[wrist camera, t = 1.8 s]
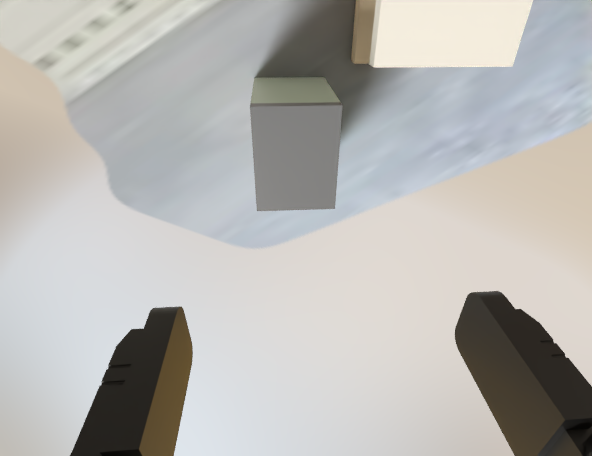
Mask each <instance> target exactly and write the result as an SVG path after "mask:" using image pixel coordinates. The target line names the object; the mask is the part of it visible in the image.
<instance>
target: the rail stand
mask: <svg viewBox="0 0 592 456" xmlns="http://www.w3.org/2000/svg"><path fill="white" fill-rule="evenodd" d="M375 6H376V0H356V5H355V18H354V30H353V42H352V54H351V61H352V62H353V63H354V64H369V61H370V52H371V43H372V33H373V24H374V15H375Z"/></svg>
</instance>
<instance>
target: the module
mask: <svg viewBox="0 0 592 456" xmlns="http://www.w3.org/2000/svg"><path fill="white" fill-rule="evenodd" d="M342 106H343V105H342V104H341V102H340V101H339V99H338V98H337V96H336V95H335V93H334V91H333V90H332V88H331V87H330V85H329V84H328V82H327V81H326V79H325V78H324V77H282V78H254V84H253V91H252V97H251V104H250V112H251V127H252V142H253V158H254V173H255V188H256V203H257V211H277V210H310V209H335V199H336V186H337V173H338V159H339V146H340V133H341V119H342Z"/></svg>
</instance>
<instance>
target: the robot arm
mask: <svg viewBox="0 0 592 456" xmlns="http://www.w3.org/2000/svg"><path fill="white" fill-rule="evenodd" d="M455 340H456V344H457V347H458V350H459V352H460V354H461V356H462V357H463V359H464V361H465V363H466V365H467V367H468V369H469V370H470V372H471V374H472V376H473V378H474V380H475V382H476V384H477V386H478V387H479V389H480V391H481V393H482V395H483V397H484V399H485V400H486V402H487V404H488V406H489V408H490V410H491V412H492V413H493V416H494V417H495V419H496V421H497V423H498V425H499V427H500V429H501V431H502V433H503V434H504V436H505V438H506V440H507V442H508V444H509V446H510V447H511V449H512V451H513V453H514V455H515V456H592V387H591V385H590V384H589V383H588V382H587V380H586V379H585V378H584V377H583V375H582V374H581V373H580V372H579V371H578V369H577V368H576V367H575V366H574V364H573V363H572V362H571V361H570V360H569V358H566V357H565V353H564V352H563V351H562V350H561V349H560V347H559V346H558V345H557V344H556V343H554V342H553V339H552V338H551V336H550V335H549V334H548V333H547V331H545V329H544V328H543V327H542V325H541V324H540V323H539V322H537V321H536V320H535V319H533V318H532V317H531V316H529V315H528V314H526V313H525V312H524V311H523V310H521V309H515V308H514V307H513V306H512V304H511V303H510V302H509V301H508V299H507V298H506V297H505V296H504V295H503V294H502V293H501V292H498V291H492V292H473V293H470V294H469V295H468V296H467V298H466V301H465V303H464V307H463V309H462V312H461V314H460V318H459V320H458V323H457V326H456V329H455ZM192 354H193V352H192V342H191V337H190V334H189V329H188V326H187V322H186V318H185V314H184V310H183V308H182V307H165V308H153V309H152V310H151V311H150V313H149V316H148V319H147V321H146V324H145V327H144V329H132V330H130V332H129V333H128V334H127V335H126V336H125V337H124V338H123V339H122V341H121V342H120V343H119V344H118V345H117V346H116V349H115V351H114V353H113V356H112V358H111V360H110V363H109V368H108V369H107V370H106V372H105V375H104V377H103V380H102V385H101V386H100V387H99V389H98V391H97V394H96V396H95V399H94V401H93V403H92V406H91V408H90V411H89V413H88V415H87V418H86V420H85V422H84V425H83V427H82V429H81V432H80V434H79V437H78V439H77V441H76V444H75V446H74V449H73V451H72V453H71V455H70V456H174V451H175V446H176V441H177V436H178V431H179V426H180V420H181V416H182V411H183V405H184V401H185V396H186V390H187V386H188V380H189V375H190V370H191V365H192Z"/></svg>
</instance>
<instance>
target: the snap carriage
mask: <svg viewBox="0 0 592 456" xmlns="http://www.w3.org/2000/svg"><path fill="white" fill-rule="evenodd" d="M532 3H533V0H376V6H375V15H374V24H373V33H372V43H371V52H370V61H369V65H371V66H372V67H374V68H381V67H508V66H513V63H514V60H515V57H516V54H517V50H518V47H519V44H520V41H521V38H522V34H523V31H524V28H525V25H526V22H527V18H528V15H529V12H530V9H531V6H532Z"/></svg>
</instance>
